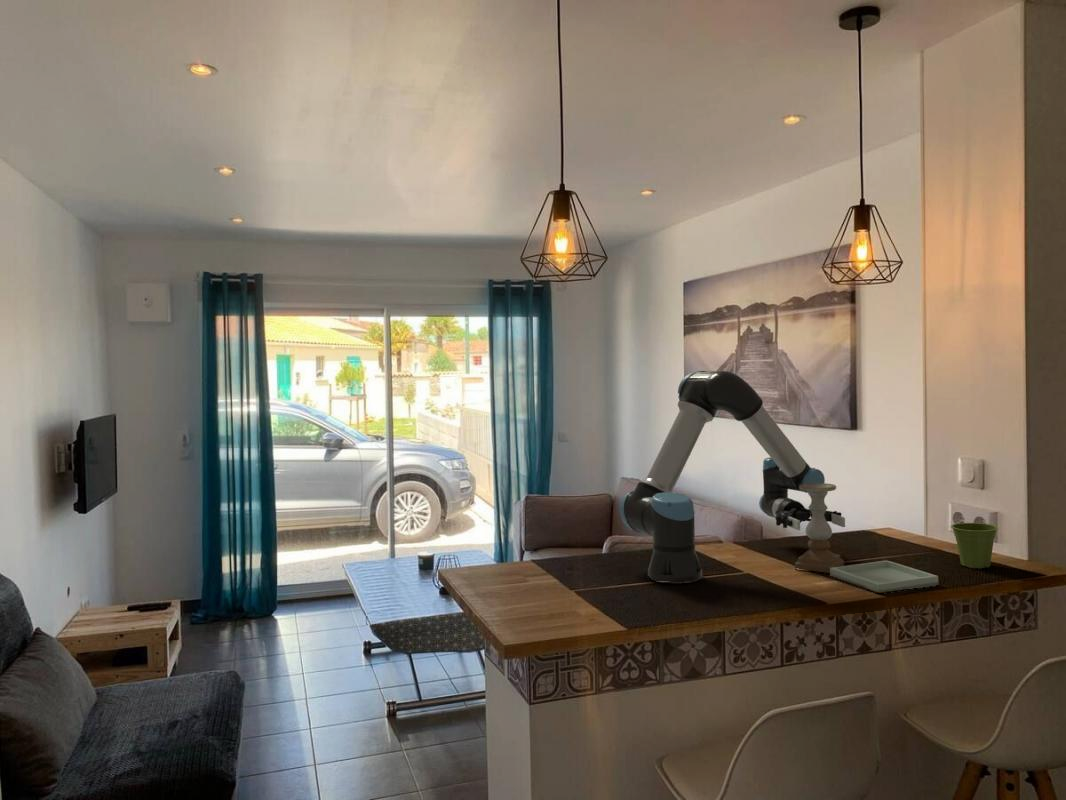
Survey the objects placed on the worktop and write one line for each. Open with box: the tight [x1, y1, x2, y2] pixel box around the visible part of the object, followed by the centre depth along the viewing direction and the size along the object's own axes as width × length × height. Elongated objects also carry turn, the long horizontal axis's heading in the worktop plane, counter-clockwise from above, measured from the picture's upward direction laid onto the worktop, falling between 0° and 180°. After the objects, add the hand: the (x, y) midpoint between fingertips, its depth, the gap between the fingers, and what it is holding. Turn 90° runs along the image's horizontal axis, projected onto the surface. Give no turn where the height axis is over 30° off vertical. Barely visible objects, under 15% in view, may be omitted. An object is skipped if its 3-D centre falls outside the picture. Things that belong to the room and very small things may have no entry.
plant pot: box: [950, 522, 999, 570], centre depth 234 cm, size 12×12×11 cm
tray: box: [829, 560, 939, 592], centre depth 223 cm, size 19×19×2 cm
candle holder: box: [794, 483, 845, 573], centre depth 239 cm, size 11×11×24 cm
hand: (821, 523), depth 238 cm, fingers open, 13 cm apart
